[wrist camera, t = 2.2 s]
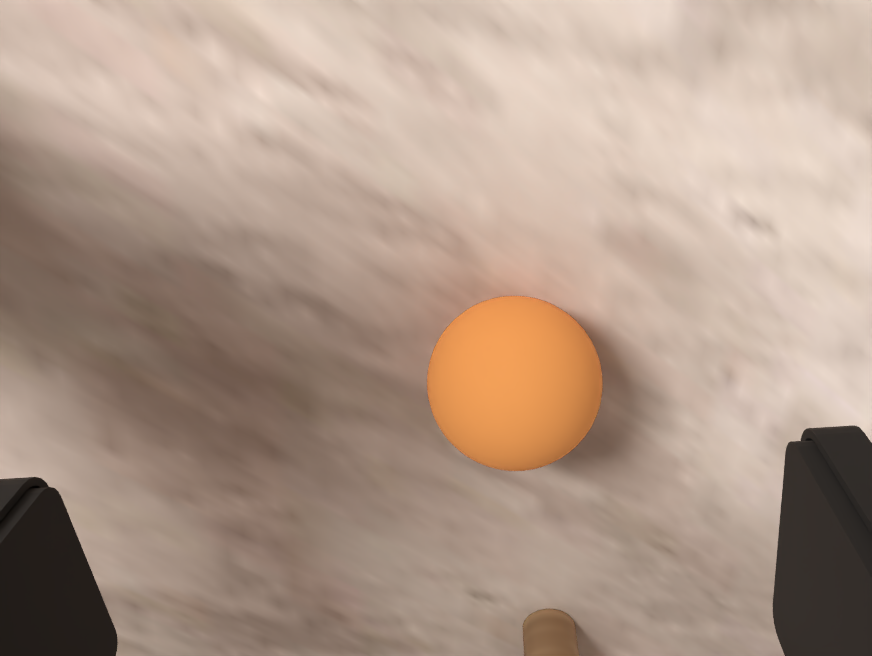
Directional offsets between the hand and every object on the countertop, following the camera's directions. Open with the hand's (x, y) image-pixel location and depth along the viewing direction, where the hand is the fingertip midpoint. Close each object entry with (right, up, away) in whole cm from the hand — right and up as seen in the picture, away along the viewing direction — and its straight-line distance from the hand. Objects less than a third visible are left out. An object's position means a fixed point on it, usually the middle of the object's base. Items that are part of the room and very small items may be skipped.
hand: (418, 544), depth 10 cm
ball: (+3, +1, +17) cm, 18 cm away
